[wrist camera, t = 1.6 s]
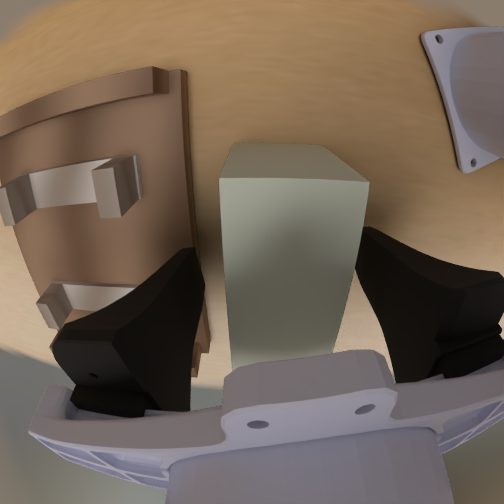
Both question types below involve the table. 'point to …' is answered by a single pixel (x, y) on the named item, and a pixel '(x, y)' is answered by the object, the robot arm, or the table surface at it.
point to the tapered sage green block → (288, 248)
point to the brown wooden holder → (100, 190)
